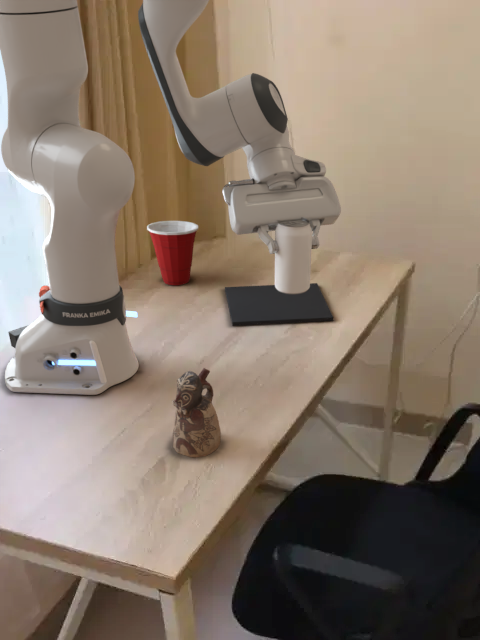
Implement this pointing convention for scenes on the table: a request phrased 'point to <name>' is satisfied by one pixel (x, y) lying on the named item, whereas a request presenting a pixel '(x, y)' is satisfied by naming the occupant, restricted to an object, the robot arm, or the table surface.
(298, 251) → the can
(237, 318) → the desk mat
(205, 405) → the figurine
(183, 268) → the plastic cup
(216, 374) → the table surface
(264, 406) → the table surface
